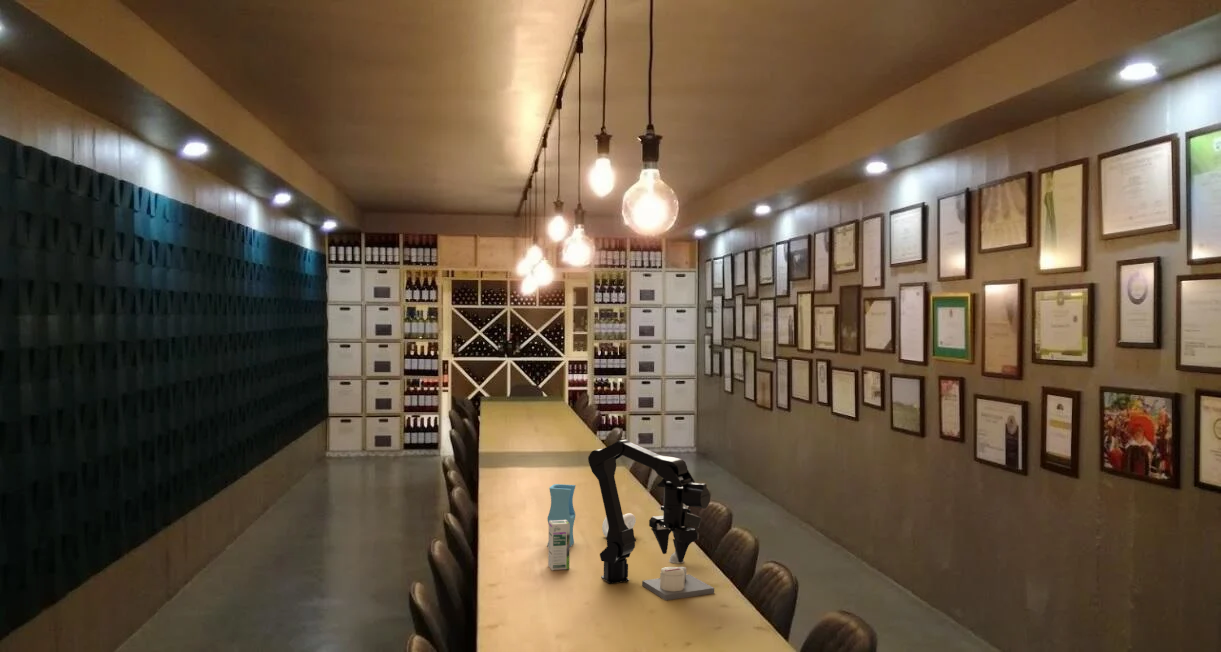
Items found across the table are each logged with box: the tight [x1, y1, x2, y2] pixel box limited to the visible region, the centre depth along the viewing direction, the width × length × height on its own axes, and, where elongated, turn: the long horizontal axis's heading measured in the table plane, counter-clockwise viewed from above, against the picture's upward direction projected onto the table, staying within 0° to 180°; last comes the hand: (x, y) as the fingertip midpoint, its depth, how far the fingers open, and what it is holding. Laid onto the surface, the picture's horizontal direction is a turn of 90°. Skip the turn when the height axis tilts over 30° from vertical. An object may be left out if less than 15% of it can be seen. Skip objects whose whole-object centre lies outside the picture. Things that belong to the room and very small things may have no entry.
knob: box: [659, 566, 685, 591], centre depth 239 cm, size 7×7×5 cm
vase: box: [547, 483, 576, 548], centre depth 289 cm, size 8×8×20 cm
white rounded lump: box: [601, 512, 637, 538], centre depth 299 cm, size 11×12×9 cm
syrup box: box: [547, 520, 571, 571], centre depth 262 cm, size 6×6×14 cm
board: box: [641, 566, 715, 601], centre depth 242 cm, size 16×14×5 cm
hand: (672, 557), depth 239 cm, fingers open, 9 cm apart
